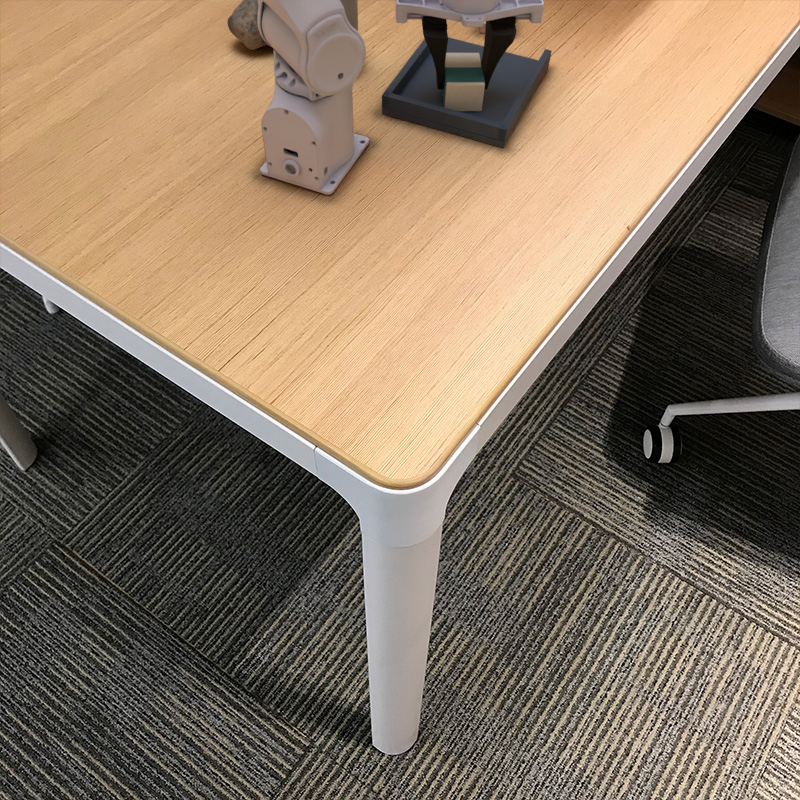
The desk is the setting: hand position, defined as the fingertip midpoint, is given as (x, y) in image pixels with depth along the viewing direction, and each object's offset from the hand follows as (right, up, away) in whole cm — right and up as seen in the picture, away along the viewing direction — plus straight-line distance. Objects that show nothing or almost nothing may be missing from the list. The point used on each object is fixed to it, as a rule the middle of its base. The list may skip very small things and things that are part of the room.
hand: (461, 84), depth 83 cm
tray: (+1, +1, +3) cm, 3 cm away
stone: (-21, +8, +8) cm, 24 cm away
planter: (-14, +4, +5) cm, 15 cm away
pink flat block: (+5, +12, +11) cm, 17 cm away
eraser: (0, -1, +1) cm, 1 cm away
